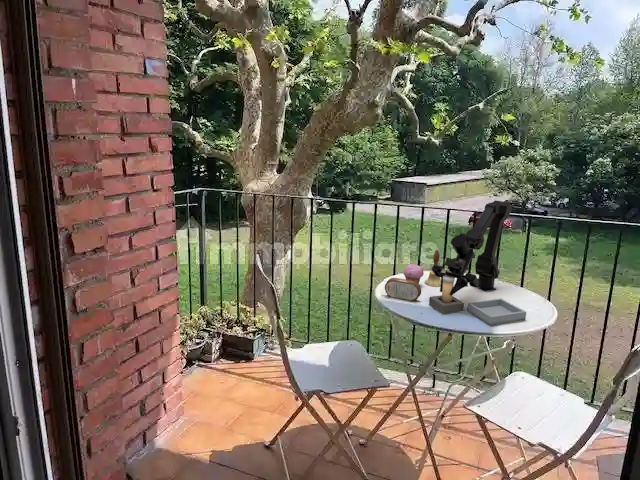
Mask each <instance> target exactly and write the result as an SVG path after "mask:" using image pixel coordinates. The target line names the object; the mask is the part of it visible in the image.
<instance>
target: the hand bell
mask: <svg viewBox="0 0 640 480" xmlns="http://www.w3.org/2000/svg"><path fill="white" fill-rule="evenodd" d="M432 259H433V265H435V264H436V265H439V264H438V263H439V261H440V252H439V249H435V251H434V253H433V258H432ZM424 284H425V285H426V286H429V287H436V288H438V287H439V288H440V286H441V277H437V276H436V275H435V274H434V273H433V271H432V270H431V271H429V275H428V278H426V280H424Z"/></svg>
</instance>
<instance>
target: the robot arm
mask: <svg viewBox="0 0 640 480" xmlns="http://www.w3.org/2000/svg"><path fill="white" fill-rule="evenodd" d="M512 210H513V205H511V203H510V202H509V201H503V200H494V201H492V202H488V203H485V205H484V209H483V211H482V213H481V214H480V216H479V217H478V220H477V221H476V223H475V225H474V227H472V228H471V229H469V230H468V231H467V232H466V233H461V232H460V233H459V235H458V234H457V235H455V236H454V237H453V238H452V239H451V240H450V244H451V247H452V249H453V250H454V252H455V253H456V254H457V255H456V257H453V258H451V257H446V258H445V262H444V266H446V268H447V269H445V267H444V266H443V265H440V264H437V265H436V264H435V265H434V264H433V265H432V267H431V271H433V273H434V274H435V275H436V276H437V277H440V279H441V286H440V287H439V292H440V293H442V289H443V276H445V275H449V276H453V277H455V279H456V280H455V282H454V283H455V284H454V285H453V288H452V290H451V292H450V295H451V296H454V294H455V293H457V292H459V291H460V290H461V289H463V288H466V287H469V286H470V287H473V288H478V289H480V290H482V291H483V292H488V291H495V290H497V288H496V287H495V279H498V278H499V275H500V269H499V267H498V266H497V265H498V260H497V256H496V252H497V248H498V245H499V241H500V238H501V237H500V236H501V232H502V228H503V226H504V222H505V221H506V220H507V219H509V217H510V215H511V212H512ZM487 230H488V233H487V237H486V240H485V237H484V235H485V234H486V232H487ZM484 242H485V245H484ZM483 246H484V248H483ZM482 248H483V252H482V253H481V254H479V255H478V256H477V260H476V262H475V266H474V269H475V274H473V273H470V272H466V271H468V270H469V269H470V267H469V265H470V263H471V261H472V259H475V258H476V254H475V251H474V250H476V251H478V250H480V249H482ZM477 275H478V277H477ZM468 284H469V285H468Z"/></svg>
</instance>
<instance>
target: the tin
mask: <svg viewBox="0 0 640 480" xmlns="http://www.w3.org/2000/svg"><path fill="white" fill-rule="evenodd" d="M384 290H385V293H386V294H387V296H388V297H390V298H393V299H398V300H402V301H409V302H413V301H416V300H418V299H419V298H420V296H421V295H422V288H421V286H420V283H419V284H418V283H416V282H415V281H411V280H406V278H405V279H403V278H399V277H391V278H389V279H388V280H387V281H386V283H385V284H384Z"/></svg>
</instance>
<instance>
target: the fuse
mask: <svg viewBox="0 0 640 480" xmlns="http://www.w3.org/2000/svg"><path fill="white" fill-rule="evenodd" d="M455 279H456V278H455V277H453V276H449V275H445V276H443V289H442V292H441V295H442V300H441V301H442V302H444V303H451V302H452V296H453V295H452V296H451V295H450V292H451V290H452V288H453V287H454V285H455V284H454V283H455V281H456V280H455Z"/></svg>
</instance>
